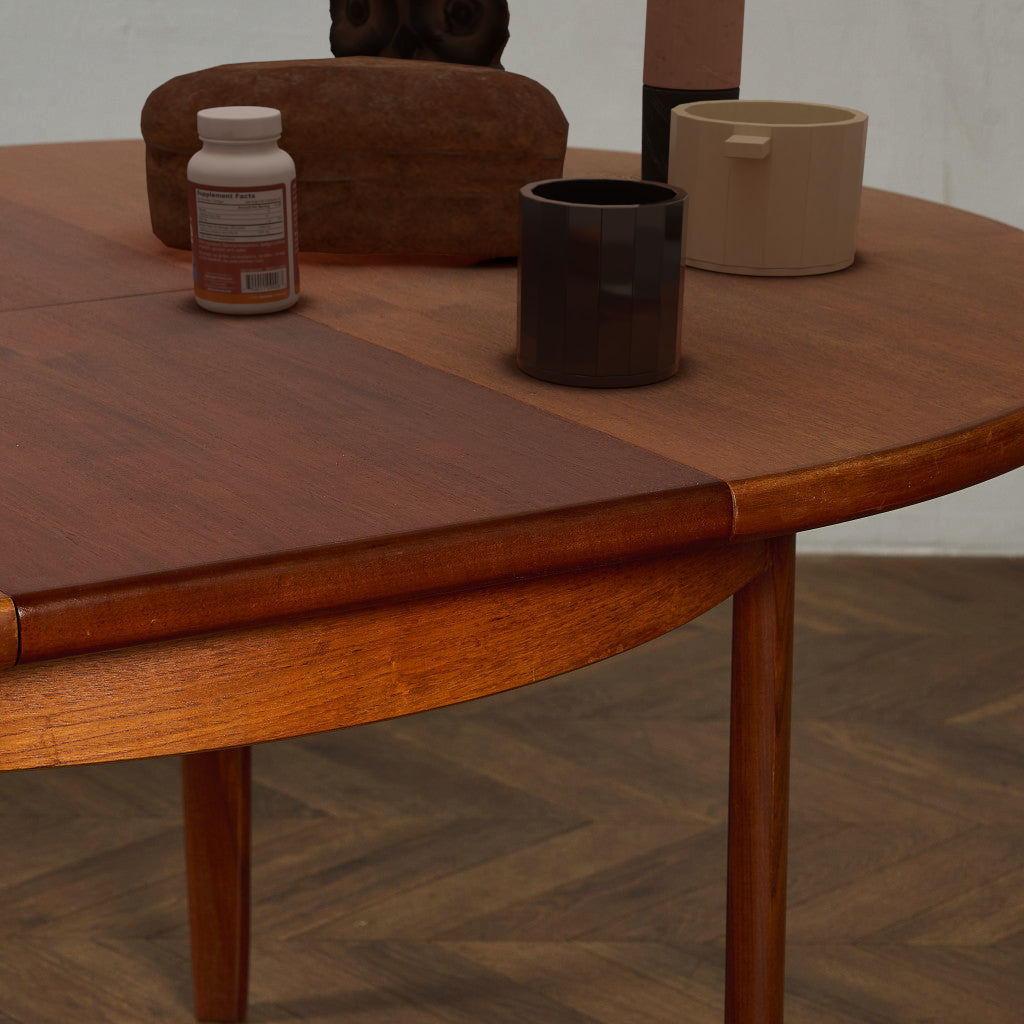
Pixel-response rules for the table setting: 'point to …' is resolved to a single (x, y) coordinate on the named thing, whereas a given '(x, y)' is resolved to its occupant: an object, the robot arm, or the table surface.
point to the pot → (769, 184)
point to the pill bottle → (243, 213)
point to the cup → (600, 280)
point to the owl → (421, 30)
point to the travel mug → (686, 67)
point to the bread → (373, 150)
